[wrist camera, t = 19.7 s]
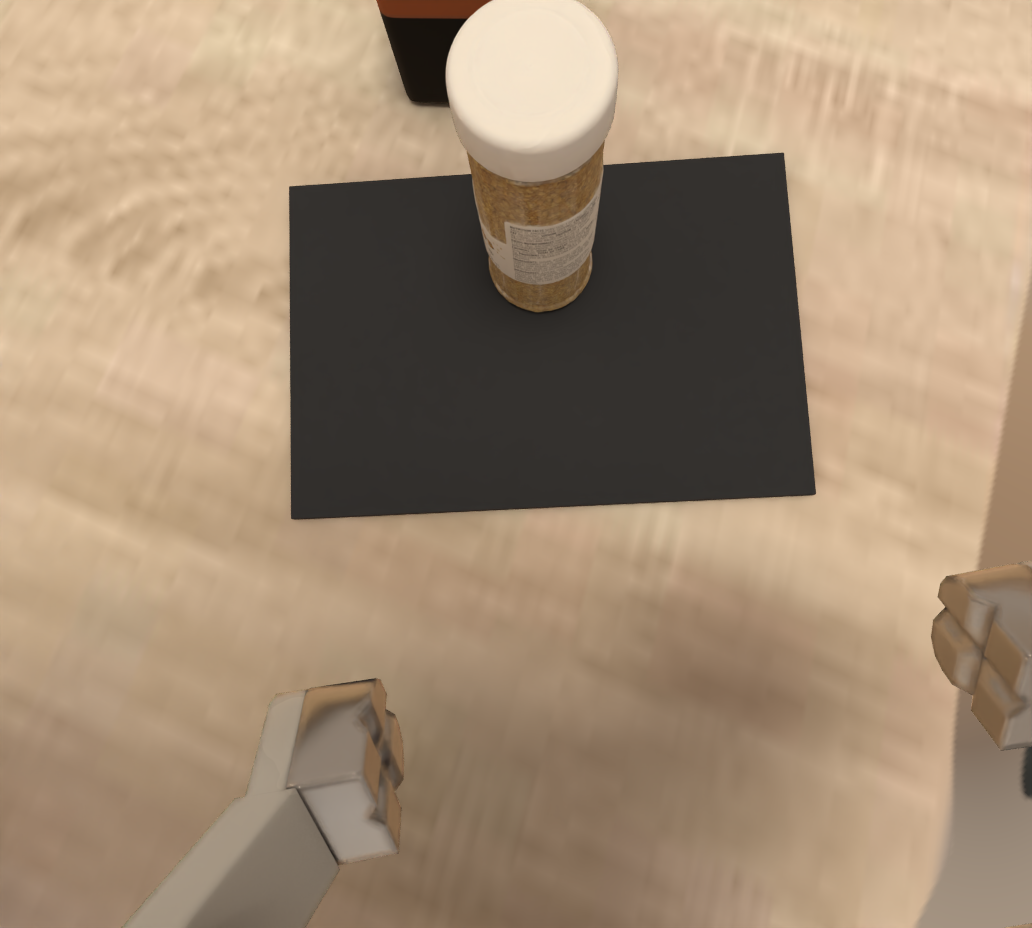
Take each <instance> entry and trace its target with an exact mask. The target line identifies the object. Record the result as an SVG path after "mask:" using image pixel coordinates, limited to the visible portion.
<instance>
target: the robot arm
mask: <svg viewBox="0 0 1032 928" xmlns="http://www.w3.org/2000/svg"><path fill="white" fill-rule="evenodd" d="M938 598H939V599H940V601H941V602H942V603H943V604H944V606H945V608H944V609H943V610H942V611H941V612H940V613H939V614H938V615H937V616H936V617H935V618H934V620H933V626H932V633H931V639H932V644H933V649H934V653H935V657H936V659H937V661H938V663H939V665H940V667H941V669H942V671H943V672H944V674H945V675H946V676H947V678H948V679H949V681H950V682H951V684H952V685H954V686H956V687H958V688H960V689H962V690H964V691H965V692H968V693H969V694H971V695H973V698H972V706H971V711H972V712H973V714H974V715H975V716H976V718H977V719H978V720H979V722H980V723H981V725H982V726H983V727H984V729H985V730H986V731H987V733H988V734H989V735H990V737H991V738H992V739H993V741H994V742H995V743H996V745H997V746H998V748H999V749H1000V750H1001V751H1003V750H1010V749H1017V748H1024V747H1031V746H1032V561H1027V562H1021V563H1018V564H1009V565H1004V566H999V567H993V568H988V569H982V570H977V571H972V572H966V573H961V574H956V575H951V576H946V577H945V579H944V580H943V581H942V582H941V584H940V588H939V593H938ZM386 699H387V693H386V691H385V689H384V687H383V684H382V682H381V680H380V679H376V678H374V679H368V680H361V681H354V682H348V683H341V684H335V685H328V686H321V687H315V688H310V689H305V690H299V691H292V692H286V693H279V694H276V695H275V696H274V698H273V699H272V701H271V702H270V704H269V706H268V710H267V714H266V718H265V721H264V725H263V729H262V733H261V737H260V741H259V744H258V748H257V752H256V756H255V760H254V764H253V767H252V771H251V775H250V779H249V783H248V787H247V790H246V794H245V796H244V797H239V798H235V799H234V800H233V801H232V802H231V803H230V804H229V805H228V807H227V808H226V809H225V810H224V811H223V812H222V813H221V815H220V816H219V817H218V818H217V819H216V820H215V821H214V823H213V824H212V825H211V826H210V827H209V828H208V829H207V831H206V832H205V833H204V834H203V835H202V836H201V837H200V838H199V840H198V841H197V842H196V843H195V844H194V845H193V846H192V848H191V849H190V850H189V851H188V852H187V853H186V854H185V856H184V857H183V858H182V859H181V860H180V861H179V862H178V864H177V865H176V866H175V867H174V868H173V869H172V870H171V872H170V873H169V874H168V875H167V876H166V877H165V878H164V880H163V881H162V882H161V883H160V884H159V885H158V886H157V888H156V889H155V890H154V891H153V892H152V893H151V894H150V895H149V897H148V898H147V899H146V900H145V901H144V902H143V903H142V905H141V906H140V907H139V908H138V909H137V910H136V911H135V913H134V914H133V915H132V916H131V917H130V918H129V919H128V921H127V922H126V923H125V924H124V925H123V926H122V927H121V928H305V927H306V926H307V924H308V922H309V921H310V919H311V917H312V915H313V914H314V912H315V910H316V909H317V907H318V905H319V904H320V902H321V900H322V898H323V897H324V895H325V893H326V892H327V890H328V888H329V887H330V885H331V883H332V881H333V880H334V878H335V876H336V875H337V873H338V871H339V870H340V869H339V866H338V865H343V864H348V863H353V862H358V861H363V860H368V859H373V858H378V857H383V856H388V855H393V854H398V853H399V841H400V826H401V811H402V808H401V806H400V803H399V801H398V798H397V796H396V794H395V791H396V789H397V788H398V786H399V785H400V784H401V782H402V781H403V777H404V752H403V740H402V736H401V732H400V727H399V724H398V721H397V719H396V716H395V714H393V713H392V712H390V711H388V710H386ZM1006 928H1032V923H1030V924H1024V925H1018V926H1012V927H1006Z"/></svg>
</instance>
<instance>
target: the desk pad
mask: <svg viewBox="0 0 1032 928" xmlns="http://www.w3.org/2000/svg"><path fill="white" fill-rule="evenodd" d="M289 221H290V394H291V519H315V518H336V517H358V516H379V515H400V514H421V513H443V512H464V511H485V510H507V509H528V508H549V507H570V506H592V505H613V504H634V503H656V502H677V501H698V500H719V499H741V498H762V497H783V496H805V495H815V494H816V489H815V479H814V468H813V457H812V447H811V436H810V426H809V415H808V404H807V394H806V383H805V373H804V362H803V351H802V341H801V330H800V320H799V309H798V298H797V288H796V277H795V267H794V256H793V245H792V235H791V224H790V214H789V203H788V192H787V182H786V171H785V161H784V153H772V154H758V155H743V156H729V157H714V158H700V159H685V160H670V161H656V162H641V163H627V164H612V165H603V177H602V184H601V192H600V200H599V207H598V215H597V222H596V229H595V236H594V242H593V245H592V249H591V252H592V270H591V274H590V278H589V280H588V283H587V284H586V286H585V288H584V289H583V291H582V292H581V293H580V294H579V295H578V296H577V298H576V299H575V300H574V301H572V302H570V303H569V304H567V305H566V306H564V307H562V308H559V309H555V310H552V311H544V312H533V311H530V310H525V309H523V308H520V307H517V306H516V305H514V304H512V303H510V302H509V301H508V300H506V299H505V298H504V297H503V296H502V295H501V294H500V293H499V292H498V290H497V288H496V287H495V284H494V282H493V280H492V277H491V274H490V270H489V254H488V252H487V250H486V246H485V243H484V238H483V234H482V229H481V224H480V220H479V215H478V210H477V206H476V202H475V196H474V190H473V182H472V174H466V175H452V176H437V177H423V178H408V179H393V180H379V181H364V182H350V183H335V184H320V185H306V186H291V187H289Z"/></svg>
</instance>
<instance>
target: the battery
mask: <svg viewBox="0 0 1032 928" xmlns="http://www.w3.org/2000/svg"><path fill="white" fill-rule="evenodd" d="M490 1H492V0H377V3H378V7H379V10H380V13H381V16H382V19H383V22H384V25H385V28H386V31H387V35H388V38H389V41H390V44H391V47H392V50H393V53H394V56H395V59H396V62H397V66H398V69H399V72H400V75H401V78H402V81H403V84H404V87H405V90H406V93H407V95H408V97H409V98H410V99H411V100H412V101H415V102H437V103H449V99H448V94H447V88H446V64H447V58H448V54H449V51H450V48H451V45H452V43H453V41H454V39H455V37H456V35H457V33H458V32H459V30H460V29H461V27H462V26H463V24H464V23H465V22H466V21H467V20H468V18H469V17H470V16H471V15H473V14H474V13H475V12H476V11H477V10H478V9H479V8H481V7H482V6H484V5H485V4H487V3H488V2H490Z"/></svg>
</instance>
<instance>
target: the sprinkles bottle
mask: <svg viewBox="0 0 1032 928" xmlns="http://www.w3.org/2000/svg"><path fill="white" fill-rule="evenodd" d="M617 85H618V59H617V54H616V50H615V46H614V43H613V41H612V38H611V36H610V34H609V32H608V30H607V29H606V27H605V26H604V24H603V23H602V22H601V20H600V19H599V18H598V17H597V16H596V15H595V14H594V13H593V12H592V11H591V10H590V9H588V8H587V7H586V6H585V5H583V4H582V3H580V2H578V1H576V0H492V1H490V2H488V3H487V4H485V5H484V6H482V7H481V8H479V9H478V10H477V11H476V12H475V13H474V14H473V15H471V16H470V17H469V18H468V20H467V21H466V22H465V23H464V24H463V26H462V27H461V29H460V30H459V32H458V33H457V35H456V37H455V39H454V41H453V43H452V45H451V48H450V51H449V54H448V58H447V64H446V88H447V94H448V99H449V104H450V109H451V113H452V118H453V121H454V125H455V129H456V132H457V134H458V136H459V139H460V141H461V143H462V145H463V146H464V147H465V149H466V150H467V154H468V158H469V164H470V169H471V174H472V182H473V190H474V196H475V202H476V206H477V210H478V215H479V220H480V224H481V229H482V234H483V238H484V243H485V246H486V250H487V252H488V254H489V270H490V274H491V277H492V280H493V282H494V284H495V287H496V288H497V290H498V292H499V293H500V294H501V295H502V296H503V297H504V298H505V299H506V300H508V301H509V302H510V303H512V304H514V305H516V306H517V307H520V308H523V309H525V310H530V311H533V312H544V311H552V310H555V309H559V308H562V307H564V306H566V305H567V304H569V303H570V302H572V301H574V300H575V299H576V298H577V296H578V295H579V294H580V293H581V292H582V291H583V289H584V288H585V286H586V284H587V283H588V280H589V278H590V274H591V270H592V252H591V249H592V245H593V242H594V236H595V229H596V222H597V215H598V207H599V200H600V192H601V184H602V177H603V149H604V141H605V138H606V137H607V135H608V132H609V130H610V128H611V124H612V121H613V118H614V112H615V105H616V97H617Z"/></svg>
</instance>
